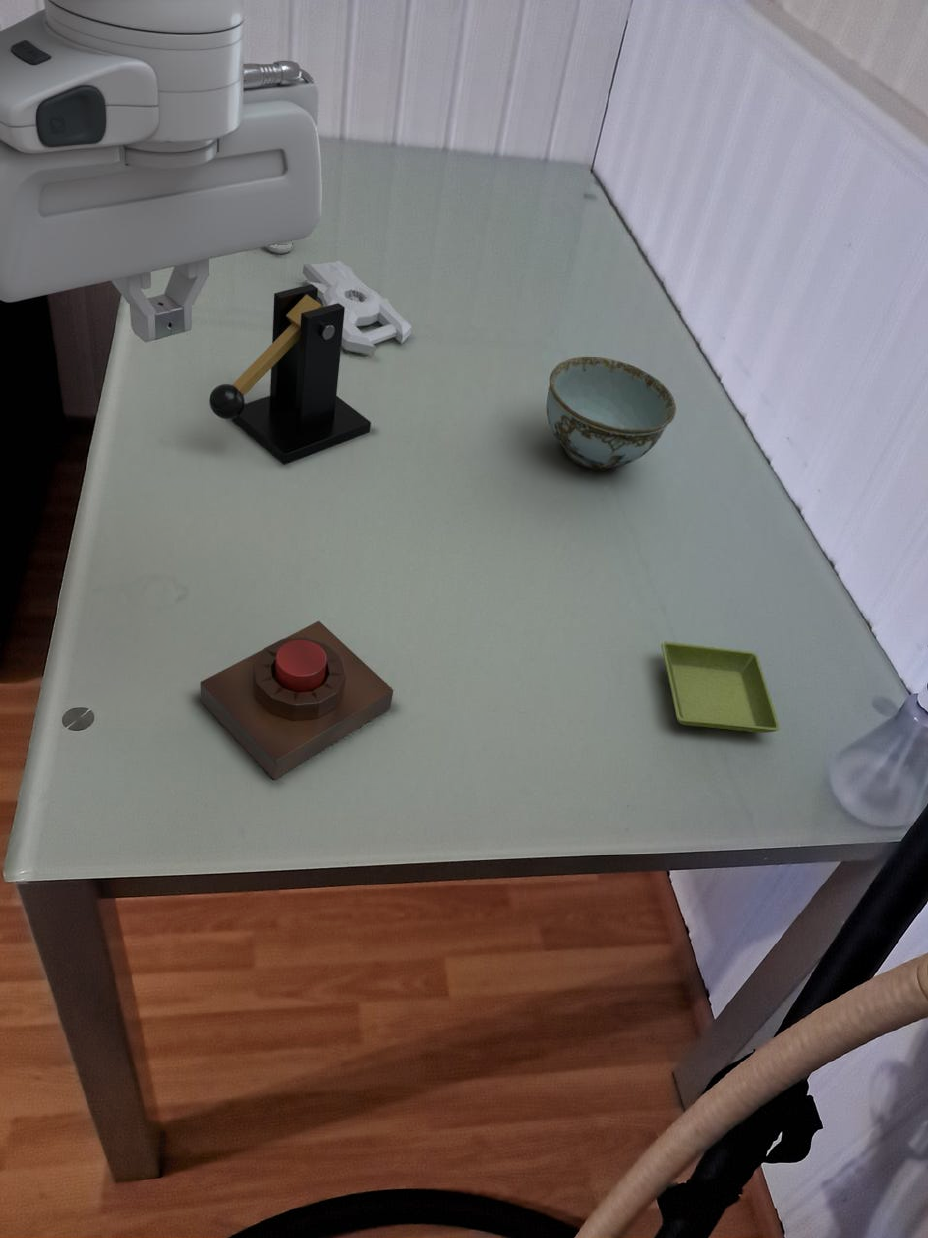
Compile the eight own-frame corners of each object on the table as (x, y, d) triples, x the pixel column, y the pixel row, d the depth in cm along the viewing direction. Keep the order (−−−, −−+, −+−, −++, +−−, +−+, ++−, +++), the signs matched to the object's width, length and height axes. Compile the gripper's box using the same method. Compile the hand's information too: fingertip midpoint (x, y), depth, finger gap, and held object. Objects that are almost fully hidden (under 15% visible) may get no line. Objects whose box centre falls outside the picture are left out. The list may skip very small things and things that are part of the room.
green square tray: (669, 735, 77) (677, 719, 76) (653, 656, 83) (660, 640, 82) (770, 746, 78) (781, 731, 77) (747, 668, 85) (757, 652, 83)
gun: (277, 258, 115) (347, 249, 120) (274, 285, 117) (344, 275, 123) (357, 341, 107) (429, 327, 112) (353, 367, 109) (424, 353, 115)
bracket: (284, 464, 93) (292, 336, 84) (229, 418, 97) (231, 290, 87) (370, 431, 100) (386, 309, 90) (315, 389, 103) (325, 267, 94)
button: (295, 700, 68) (296, 684, 67) (264, 669, 70) (265, 653, 69) (334, 677, 71) (336, 661, 69) (304, 648, 72) (305, 632, 71)
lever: (233, 431, 90) (216, 413, 87) (213, 414, 91) (196, 395, 88) (335, 325, 91) (322, 304, 88) (314, 310, 92) (301, 288, 89)
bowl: (523, 412, 108) (540, 348, 102) (636, 424, 110) (658, 362, 105) (541, 487, 98) (561, 422, 93) (665, 498, 101) (691, 435, 95)
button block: (274, 780, 68) (276, 746, 65) (200, 701, 71) (199, 665, 69) (390, 708, 74) (396, 674, 71) (316, 639, 78) (320, 604, 75)
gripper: (283, 38, 54) (274, 273, 63) (-98, 63, 42) (-38, 348, 51) (356, 78, 51) (335, 317, 61) (-28, 116, 39) (21, 407, 49)
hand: (162, 332), depth 56 cm, fingers closed
